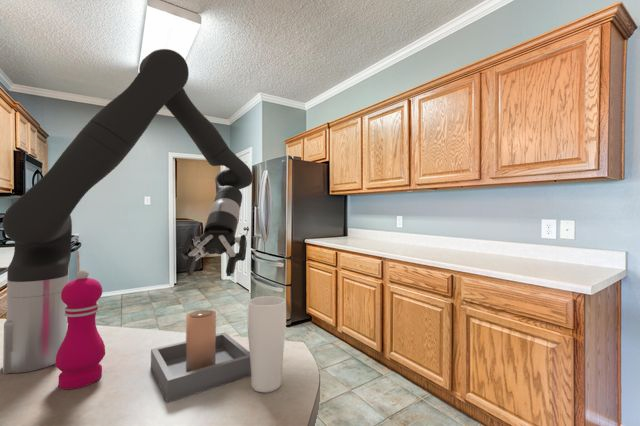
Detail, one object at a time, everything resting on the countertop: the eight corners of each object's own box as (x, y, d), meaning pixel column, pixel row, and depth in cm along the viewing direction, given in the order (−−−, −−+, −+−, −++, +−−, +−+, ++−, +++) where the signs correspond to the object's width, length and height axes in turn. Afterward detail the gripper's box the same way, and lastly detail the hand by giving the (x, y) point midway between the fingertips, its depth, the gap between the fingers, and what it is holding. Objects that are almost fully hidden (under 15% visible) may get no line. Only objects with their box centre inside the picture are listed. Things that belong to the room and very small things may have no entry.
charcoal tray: (167, 402, 50) (167, 380, 50) (150, 366, 62) (151, 349, 62) (253, 374, 59) (254, 355, 59) (224, 347, 71) (225, 332, 71)
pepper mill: (64, 374, 59) (66, 267, 59) (109, 367, 61) (111, 266, 62) (46, 394, 52) (49, 274, 52) (98, 386, 55) (100, 272, 55)
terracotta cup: (190, 375, 57) (190, 320, 57) (182, 364, 61) (182, 312, 61) (219, 367, 60) (219, 314, 60) (210, 357, 64) (210, 308, 64)
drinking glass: (278, 398, 51) (279, 307, 51) (240, 394, 52) (240, 304, 53) (290, 378, 58) (290, 296, 58) (256, 374, 59) (256, 294, 59)
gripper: (191, 209, 77) (171, 263, 66) (249, 210, 78) (238, 264, 67) (198, 228, 83) (180, 282, 71) (252, 229, 83) (243, 283, 72)
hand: (208, 273), depth 69 cm, fingers open, 8 cm apart
